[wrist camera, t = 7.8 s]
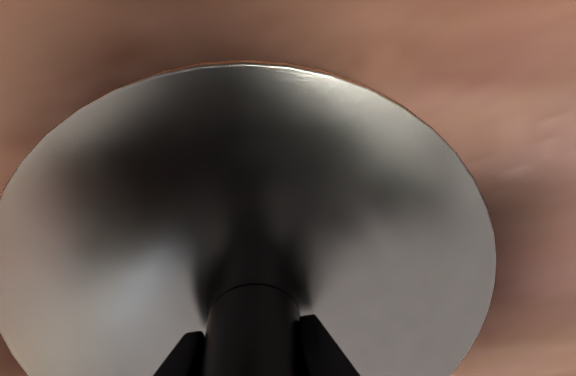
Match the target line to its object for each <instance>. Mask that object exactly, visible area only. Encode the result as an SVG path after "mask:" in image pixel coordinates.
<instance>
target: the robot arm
mask: <svg viewBox="0 0 576 376" xmlns="http://www.w3.org/2000/svg"><path fill="white" fill-rule="evenodd" d="M299 323H300V332H301V340H302V348H303V356H304V362H305V368H306V375H307V376H360V374H359V373H358V371H357V370H356V369H355V367H354V366H353V365H352V363H351V362H350V361H349V359H348V358H347V357H346V355H345V354H344V353H343V351H342V350H341V348H340V347H339V346H338V344H337V343H336V342H335V340H334V339H333V338H332V336H331V335H330V334H329V332H328V331H327V329H326V328H325V327H324V325H323V324H322V323H321V321H320V320H319V319H318V317H317V316H316V315H314V314H311V315H304V316H300V317H299ZM204 338H205V336H204V334H203V332H202V331H194V332H188V333H186V334H184V335H183V337H182V338H181V339H180V341H179V342H178V343H177V344H176V346H175V347H174V348H173V350H172V351H171V352H170V354H169V355H168V356H167V358H166V359H165V360H164V362H163V363H162V364H161V365H160V367H159V368H158V369H157V371H156V372H155V373H154V375H153V376H198V372H199V366H200V360H201V355H202V349H203V343H204Z"/></svg>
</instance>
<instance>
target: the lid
mask: <svg viewBox="0 0 576 376" xmlns="http://www.w3.org/2000/svg"><path fill="white" fill-rule="evenodd" d="M496 260H497V259H496V248H495V237H494V231H493V227H492V223H491V220H490V216H489V212H488V208H487V205H486V203H485V201H484V198H483V196H482V194H481V192H480V190H479V188H478V186H477V183H476V181H475V179H474V177H473V176H472V175H471V173H470V172H469V170H468V169H467V167H466V166H465V164H464V163H463V162H462V160H461V159H460V157H459V156H458V154H457V153H456V152H455V151H454V150H453V149H452V148H451V147H450V146H449V145H448V143H447V142H446V141H445V140H444V139H443V138H442V137H441V136H440V135H439V134H438V133H437V132H436V131H435V130H434V129H433V128H432V127H430V126H429V125H428V124H426V123H425V122H424V121H422V120H421V119H420V118H418V117H417V116H416V115H414V114H413V113H412V112H410V111H409V110H408V109H406V108H405V107H404V106H402V105H400V104H399V103H397V102H395V101H393V100H392V99H390V98H388V97H386V96H384V95H382V94H380V93H379V92H377V91H375V90H373V89H371V88H369V87H367V86H365V85H363V84H361V83H358V82H355V81H352V80H350V79H347V78H344V77H341V76H339V75H336V74H333V73H330V72H327V71H323V70H318V69H314V68H309V67H304V66H299V65H295V64H290V63H282V62H267V61H252V60H237V61H222V62H208V63H199V64H194V65H190V66H185V67H180V68H176V69H171V70H166V71H161V72H158V73H156V74H153V75H150V76H147V77H145V78H142V79H139V80H137V81H134V82H131V83H128V84H126V85H123V86H121V87H118V88H116V89H114V90H112V91H111V92H109V93H107V94H105V95H103V96H101V97H100V98H98V99H96V100H94V101H92V102H91V103H89V104H87V105H85V106H83V107H81V108H80V109H78V110H77V111H75V112H74V113H73V114H71V115H70V116H69V117H68V118H66V119H65V120H64V121H62V122H61V123H60V124H59V125H57V126H56V127H55V128H53V129H52V130H51V131H49V132H48V133H47V134H46V135H45V136H44V137H43V138H42V139H41V141H40V142H39V143H38V144H37V145H36V146H35V147H34V148H33V149H32V150H31V151H30V152H29V154H28V155H27V156H26V157H25V158H24V159H23V160H22V162H21V163H20V165H19V166H18V168H17V169H16V171H15V173H14V174H13V176H12V177H11V179H10V180H9V182H8V184H7V185H6V187H5V188H4V190H3V193H2V195H1V198H0V334H1V335H2V337H3V339H4V341H5V343H6V344H7V346H8V348H9V350H10V352H11V354H12V355H13V357H14V358H15V359H16V361H17V362H18V363H19V365H20V366H21V367H22V369H23V370H24V371H25V373H26V374H27V375H28V376H153V375H154V373H155V372H156V371H157V369H158V368H159V367H160V365H161V364H162V363H163V362H164V360H165V359H166V358H167V356H168V355H169V354H170V352H171V351H172V350H173V348H174V347H175V346H176V344H177V343H178V342H179V341H180V339H181V338H182V337H183V335H184V334H186V333H188V332H194V331H202V332H203V334H204V336H205V338H204V343H203V349H202V355H201V360H200V366H199V372H198V376H307V375H306V368H305V362H304V356H303V348H302V340H301V332H300V323H299V317H300V316H304V315H311V314H314V315H316V316H317V317H318V319H319V320H320V321H321V323H322V324H323V325H324V327H325V328H326V329H327V331H328V332H329V334H330V335H331V336H332V338H333V339H334V340H335V342H336V343H337V344H338V346H339V347H340V348H341V350H342V351H343V353H344V354H345V355H346V357H347V358H348V359H349V361H350V362H351V363H352V365H353V366H354V367H355V369H356V370H357V371H358V373H359V374H360V376H450V375H451V374H452V373H453V372H454V371H455V369H456V368H457V367H458V365H459V364H460V363H461V361H462V360H463V358H464V357H465V356H466V354H467V353H468V352H469V350H470V348H471V346H472V345H473V343H474V341H475V339H476V338H477V336H478V334H479V332H480V330H481V328H482V325H483V323H484V320H485V318H486V315H487V313H488V310H489V307H490V302H491V298H492V294H493V290H494V285H495V274H496Z"/></svg>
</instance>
